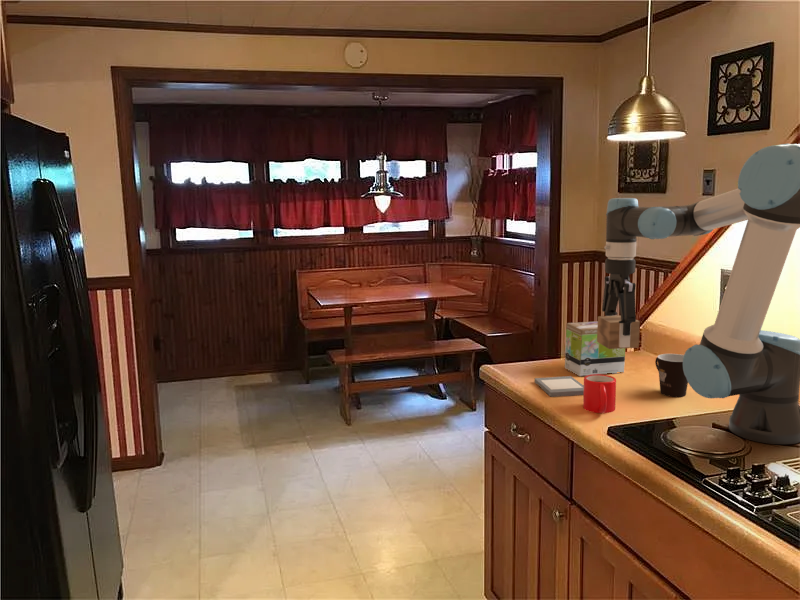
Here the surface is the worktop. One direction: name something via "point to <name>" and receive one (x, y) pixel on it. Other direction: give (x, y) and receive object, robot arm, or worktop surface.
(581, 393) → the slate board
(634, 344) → the walnut block
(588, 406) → the mug
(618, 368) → the tea box
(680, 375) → the coffee mug
